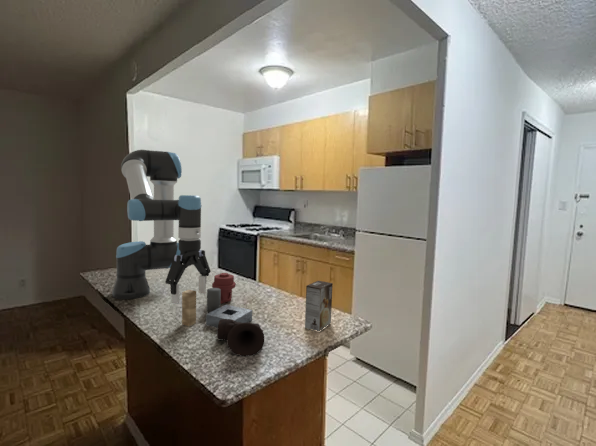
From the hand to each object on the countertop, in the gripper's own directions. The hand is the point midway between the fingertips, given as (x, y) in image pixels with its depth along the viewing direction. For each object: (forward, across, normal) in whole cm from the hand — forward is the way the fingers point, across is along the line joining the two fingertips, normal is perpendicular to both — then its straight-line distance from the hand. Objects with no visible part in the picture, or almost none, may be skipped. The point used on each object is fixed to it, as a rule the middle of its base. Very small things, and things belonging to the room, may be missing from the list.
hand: (189, 297), depth 120 cm
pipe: (+11, -4, -25) cm, 27 cm away
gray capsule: (+10, +14, 0) cm, 17 cm away
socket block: (+10, +8, -12) cm, 17 cm away
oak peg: (+10, 0, 0) cm, 10 cm away
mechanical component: (+10, +26, +4) cm, 28 cm away
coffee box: (+10, +21, -42) cm, 48 cm away
